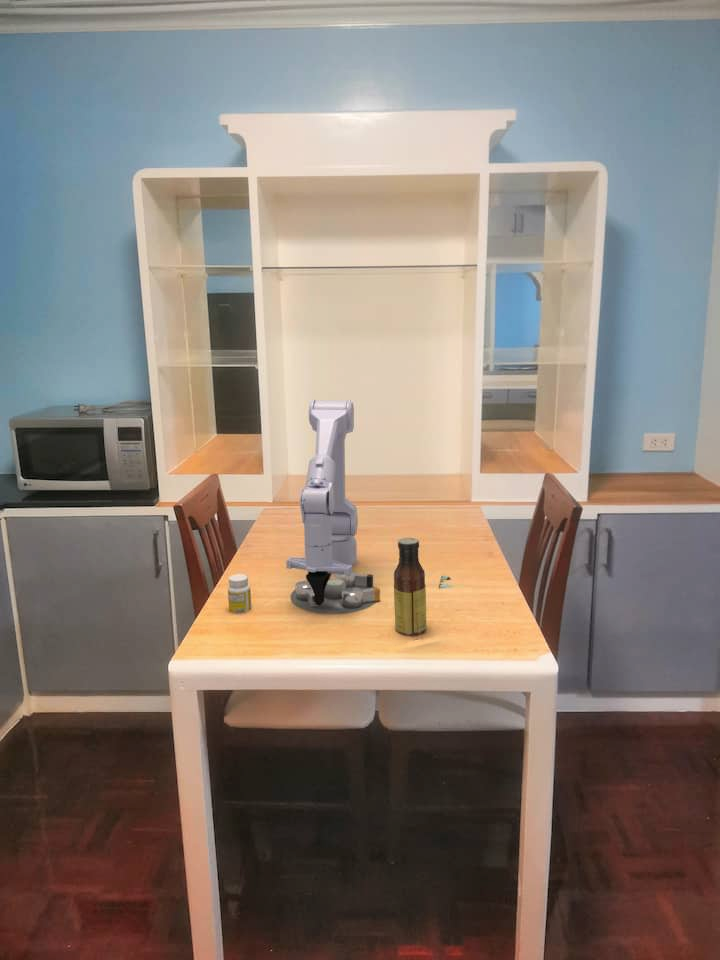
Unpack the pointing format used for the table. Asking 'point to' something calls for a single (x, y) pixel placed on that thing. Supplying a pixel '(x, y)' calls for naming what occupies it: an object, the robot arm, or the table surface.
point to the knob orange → (359, 596)
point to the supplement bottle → (239, 594)
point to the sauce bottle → (409, 590)
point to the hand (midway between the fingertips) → (319, 603)
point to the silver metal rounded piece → (305, 592)
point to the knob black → (357, 579)
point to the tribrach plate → (331, 600)
